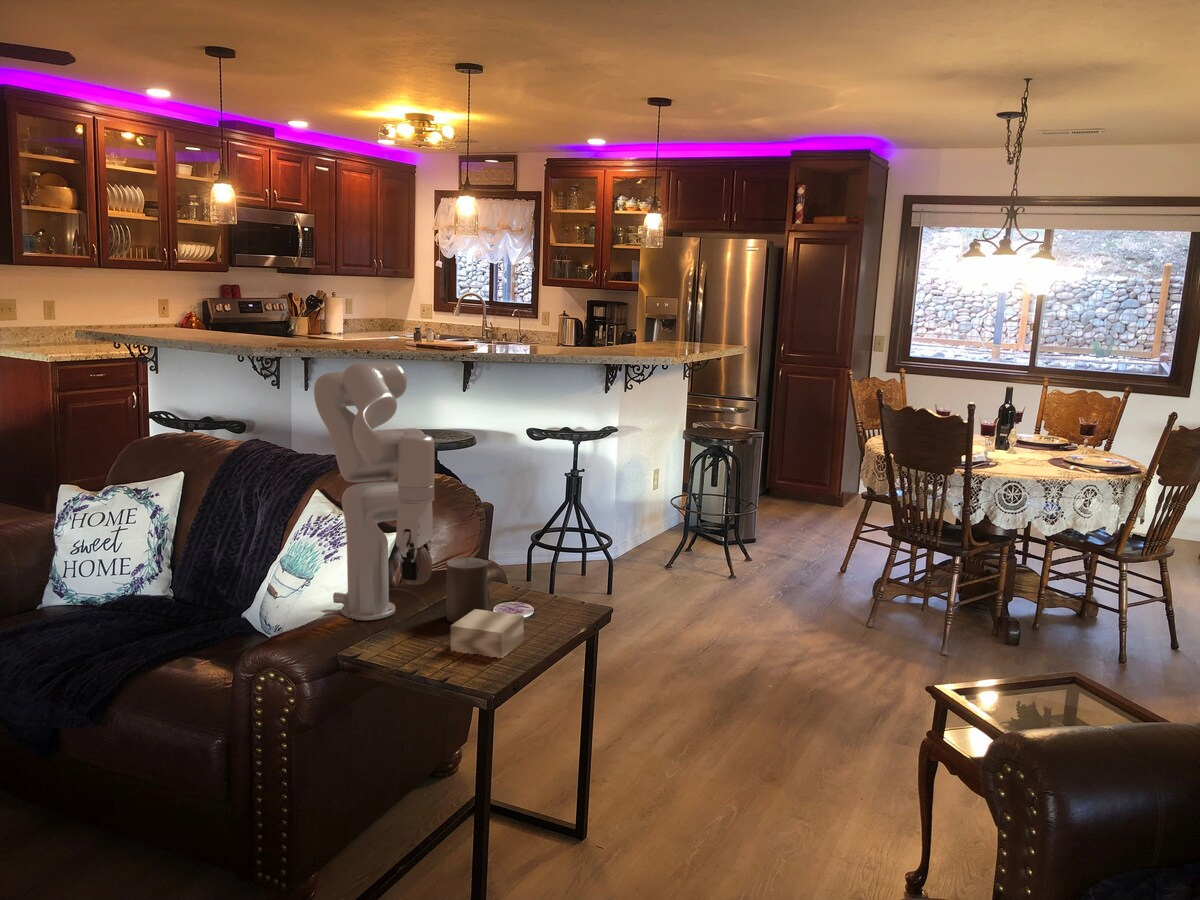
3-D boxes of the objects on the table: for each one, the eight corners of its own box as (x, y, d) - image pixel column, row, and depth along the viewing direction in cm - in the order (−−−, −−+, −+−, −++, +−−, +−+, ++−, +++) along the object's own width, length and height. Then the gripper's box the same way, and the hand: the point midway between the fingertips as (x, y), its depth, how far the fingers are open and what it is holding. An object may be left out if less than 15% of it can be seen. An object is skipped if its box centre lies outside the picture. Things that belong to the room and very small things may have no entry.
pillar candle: (484, 625, 222) (485, 563, 220) (442, 624, 222) (443, 561, 220) (489, 612, 232) (490, 552, 230) (449, 611, 232) (450, 551, 230)
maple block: (450, 652, 206) (450, 625, 205) (474, 634, 217) (474, 608, 216) (501, 660, 202) (501, 633, 201) (523, 641, 214) (523, 615, 213)
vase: (411, 575, 209) (411, 536, 207) (438, 579, 206) (438, 540, 205) (393, 584, 202) (393, 544, 201) (421, 588, 200) (421, 548, 198)
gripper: (414, 483, 210) (414, 561, 213) (382, 500, 193) (383, 585, 196) (447, 486, 209) (446, 564, 212) (418, 503, 192) (418, 588, 195)
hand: (416, 573), depth 204 cm, fingers closed on vase, 6 cm apart
